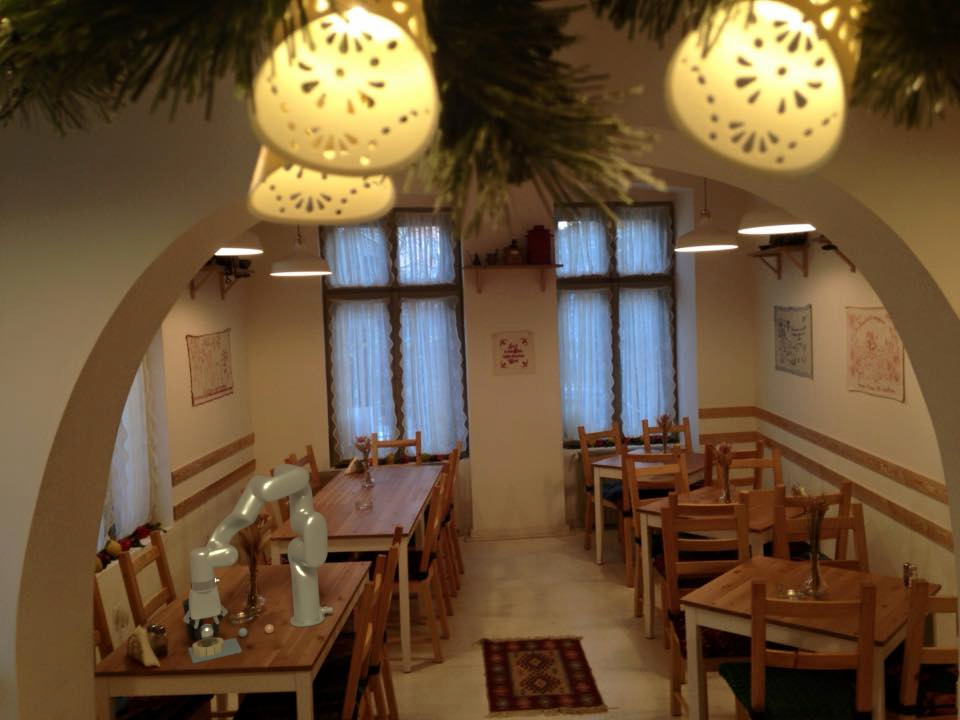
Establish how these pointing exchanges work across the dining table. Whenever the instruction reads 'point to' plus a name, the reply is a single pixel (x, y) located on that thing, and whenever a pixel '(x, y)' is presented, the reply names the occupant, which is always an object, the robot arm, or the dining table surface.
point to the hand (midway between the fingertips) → (207, 636)
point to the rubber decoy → (242, 632)
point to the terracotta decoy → (269, 628)
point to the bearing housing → (213, 649)
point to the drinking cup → (190, 628)
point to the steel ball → (206, 631)
